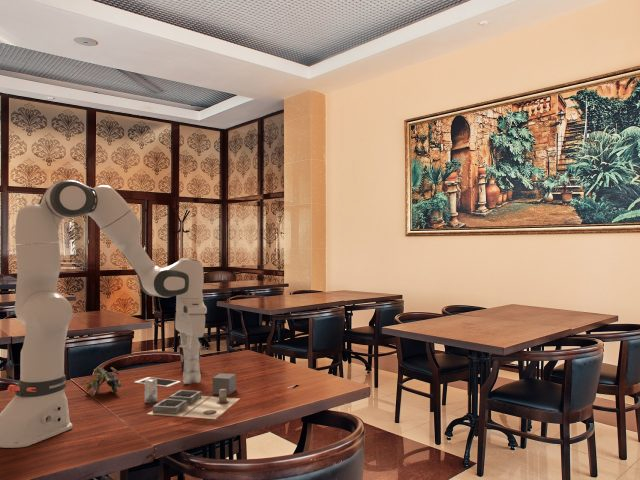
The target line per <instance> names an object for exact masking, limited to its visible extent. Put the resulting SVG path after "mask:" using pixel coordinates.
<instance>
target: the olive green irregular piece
mask: <svg viewBox="0 0 640 480" xmlns="http://www.w3.org/2000/svg"><path fill="white" fill-rule="evenodd" d="M110 370H112V372H109V371H107V370H105V369H104V368H101V367H99V366H98V367H97V370H96V369H95V368H94V369H93V373H94V374H96V379H93V380H92V381H90V382H87V381H85V379H82V380H81V383H80V385H81V386H83V385H84V384H83V383H85V384H87V386H86V393H88V391H89V390H91V388H92V387H93V394H92V396H91V398H93V397H94V396H95V395H96V393H97V392H98V391H99V390H100V386H102V385H103V384H104V382H106V384H107V385H108V386H109V387H111V391H112V392H113V393H116V392H118V388H121V387H122V384H121V381H119V380H120V379H119V378H117V377H115V376H116V375H118V376H119V374H120V372H119V371H118V370H117V369H116V368H114V367H112V366H111V367H110ZM115 374H116V375H115ZM117 387H118V388H117Z"/></svg>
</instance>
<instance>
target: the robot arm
mask: <svg viewBox="0 0 640 480" xmlns="http://www.w3.org/2000/svg"><path fill="white" fill-rule="evenodd" d="M84 215H86V216H89V217H90V218H91V219H92V220H93V221H95V223H96V225H97V226H98V227H99V229H100V230H101V232H103V234H104V235H105V236H106V237H107V238H108V239H109V240H110V241H111V243H113V244H114V246H115V247H117V249H118V250H119V251H120V252H121V253H122V255H123V256H124V258H125V260H127V261H128V263H129V265H130V266H131V267H132V269H133V270H134V272H135V274H136V275H137V278H138V283H139V286H140V289H141V290H142V292H143V293H144V294H146V295H148V296H150V297H160V298H167V299H168V298H171V297H176V301H175V302H176V303H175V305H176V306H175V311H176V312H175V319H174V320H175V321H174V327H175V330H176V331H178V332H179V336H180V338H179V339H180V345H187V340H186V339H187V336H186V334H187V335H189V336H191V344H190V349H191V350H195V349H196V344H197V341H198V340H199V338H203V337H204V334H205V331H206V330H205V329H206V328H205V327H206V315H205V314H207V313H208V309H207V306H206V305H205V303H204V295H203V288H204V277H205V275H204V265H203V263H202V262H201V261H199V260H196V259H195V258H194V259H193V258H187V257H181V258H180V259H178V260H177V261H176V262H174V263H173V264H170V265H167V266H165V267H160V266H158V265H156V264H155V263H154V262H153V261H152V259H151V258H150V256H149V255H148V252H146V250H145V249H144V247H143V245H142V243H141V241H140V236H141V234H142V228H143V227H142V224H141V221H140V219H139V218H138V216H137V214H136V213H135V212H134V210H133V208H131V206H130V205H129V203H128V202H127V201H126V200H125V199H124V198H123V197H122V196H121V194H119V192H117V191H116V190H115V189H114V188H113V187H112V186H110V185H108V184H107V185H105V184H101V185H96V186H95V187H93V188H92V187H91V186H88V185H87V184H84V183H82V182H79V181H77V180H73V179H65V180H61V181H56V182H55V183H53V184H51V185H50V186H49V187H47V188H46V190H45V191H44V193H43V194H42V196H41V198H40V200H39V202H38V203H36V204H28V205H25V206H23V207H21V208H20V209H19V210H18V211H17V214H16V218H15V230H14V242H15V243H14V244H15V258H16V259H15V260H16V268H17V270H16V286H15V303H14V307H13V308H14V314H15V316H16V317H15V318H17V320H18V322H20V323H21V324H23V325H24V326H25V335H24V340H23V345H22V348H21V350H20V364H19V365H20V375H19V377H20V379H19V380H18V382H17V384H10V385H8V387H7V392H8V393H14V394H15V395H14V397H13V398H12V399H11V400H9V401H10V402H8V403H7V404H6V406H5V407H4V409H3V410H1V412H0V448H6V449H7V448H8V449H9V448H11V449H14V448H24V447H29V446H31V445H33V444H37V443H39V442H42V441H43V440H47V439H49V438H51V437H54V436H57V435H59V434H61V433H64V432H67V431H69V430H71V429H73V423H72V422H71V420H70V419H71V418H70V411H69V404H68V403H69V402H68V397H67V396H66V393H65V389H66V386H67V383H66V382H67V379H66V374H65V345H66V339H67V335H68V330H69V325H70V323H71V321H72V319H73V316H74V315H73V314H74V310H73V309H74V308H73V307H72V304H71V302H69V300H68V299H67V298H66V297H65V296H63V295H62V294H60V293H58V282H59V277H60V273H61V270H62V264H61V263H62V262H61V249H60V248H61V247H60V237H59V228H60V224H61V222H62V221H63V220H65V219H66V220H68V219H74V218H77V217H81V216H84Z"/></svg>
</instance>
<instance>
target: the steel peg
mask: <svg viewBox="0 0 640 480" xmlns="http://www.w3.org/2000/svg"><path fill="white" fill-rule="evenodd" d="M156 402H157V403H158V386H157V379H147V380H145V384H144V403H145V404H153V403H154V404H155V403H156Z"/></svg>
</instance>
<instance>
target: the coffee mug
mask: <svg viewBox="0 0 640 480" xmlns="http://www.w3.org/2000/svg"><path fill="white" fill-rule="evenodd" d="M179 357H180V365H181V371H182V372H184V353H183V346H182V345H181V344H180V345H179ZM200 358H201V354H200V352H199V360H200Z"/></svg>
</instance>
